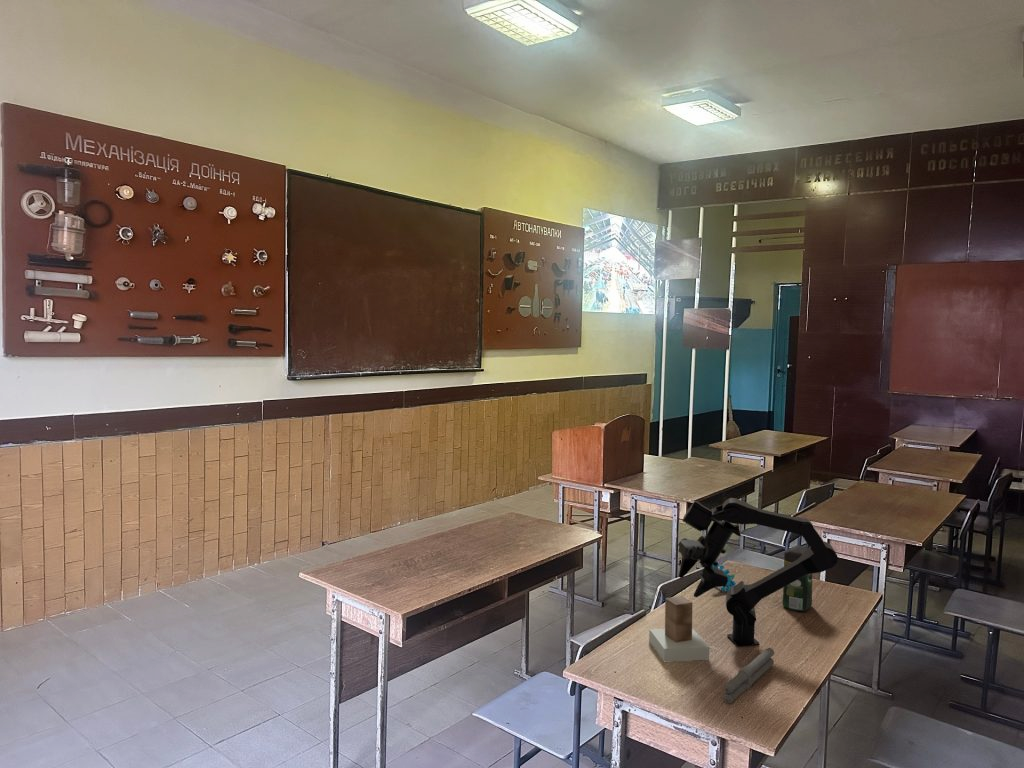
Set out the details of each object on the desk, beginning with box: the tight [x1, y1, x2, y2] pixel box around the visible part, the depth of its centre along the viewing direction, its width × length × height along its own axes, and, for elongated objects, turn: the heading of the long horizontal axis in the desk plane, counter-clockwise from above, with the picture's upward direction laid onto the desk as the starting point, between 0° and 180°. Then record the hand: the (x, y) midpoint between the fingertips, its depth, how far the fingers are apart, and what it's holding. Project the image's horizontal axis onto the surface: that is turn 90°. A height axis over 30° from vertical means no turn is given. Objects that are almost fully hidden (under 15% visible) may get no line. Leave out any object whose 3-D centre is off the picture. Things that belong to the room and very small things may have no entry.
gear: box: [712, 564, 737, 593], centre depth 231 cm, size 11×6×10 cm
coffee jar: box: [781, 544, 813, 612], centre depth 215 cm, size 10×8×19 cm
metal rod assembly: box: [723, 647, 775, 705], centre depth 167 cm, size 26×3×5 cm, turn 139°
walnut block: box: [664, 595, 693, 643], centre depth 183 cm, size 5×5×10 cm
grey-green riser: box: [648, 627, 710, 662], centre depth 184 cm, size 12×12×4 cm
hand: (687, 586), depth 194 cm, fingers open, 9 cm apart
